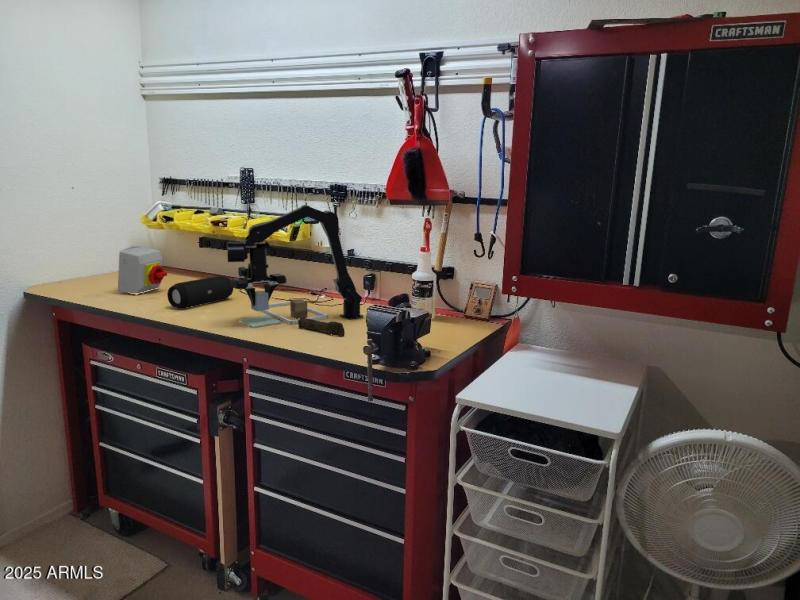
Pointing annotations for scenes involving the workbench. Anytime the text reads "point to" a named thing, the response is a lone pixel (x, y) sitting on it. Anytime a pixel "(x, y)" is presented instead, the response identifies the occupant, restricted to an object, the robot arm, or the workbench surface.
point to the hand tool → (322, 326)
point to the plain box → (298, 308)
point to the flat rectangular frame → (321, 316)
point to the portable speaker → (199, 291)
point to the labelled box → (261, 301)
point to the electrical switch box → (139, 269)
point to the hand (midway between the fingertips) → (259, 305)
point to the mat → (260, 321)
